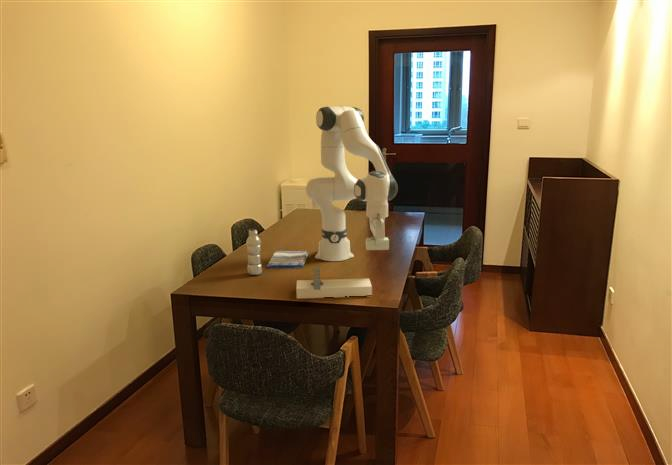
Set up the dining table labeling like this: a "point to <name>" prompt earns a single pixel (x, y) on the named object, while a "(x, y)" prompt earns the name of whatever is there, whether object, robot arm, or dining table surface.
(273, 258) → the dish towel
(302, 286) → the housing
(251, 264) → the plastic bottle
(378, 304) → the dining table surface
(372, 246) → the cover
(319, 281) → the grey bar
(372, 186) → the robot arm
